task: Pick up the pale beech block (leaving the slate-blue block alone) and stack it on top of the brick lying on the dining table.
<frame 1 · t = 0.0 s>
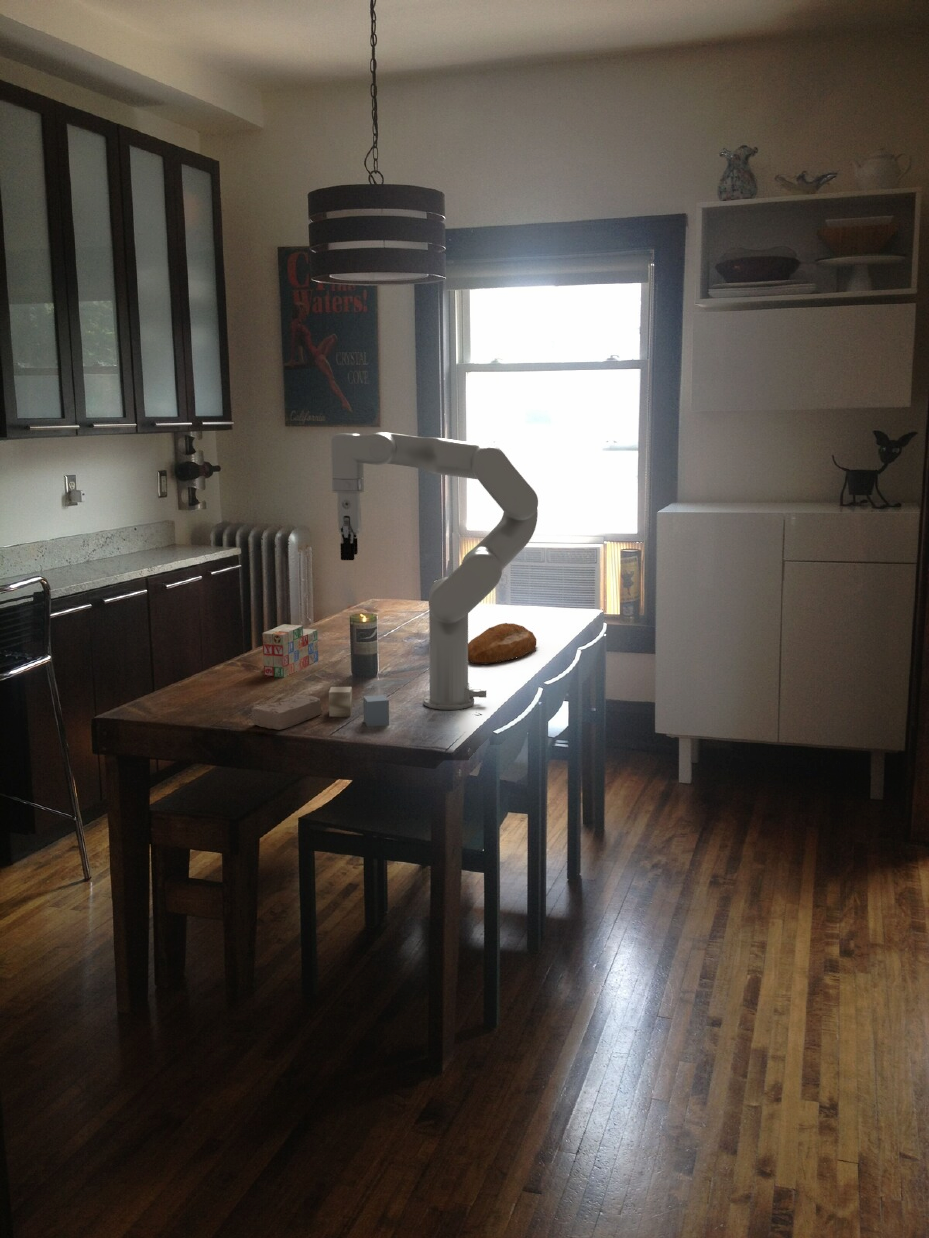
hand: (349, 557, 265), 37 cm above the table, tool pointing down, fingers open, 9 cm apart
slate block: (376, 723, 257), on the table
stack of blocks: (292, 669, 309), on the table
beech block: (340, 713, 264), on the table
bread: (500, 654, 327), on the table
brick: (288, 721, 259), on the table
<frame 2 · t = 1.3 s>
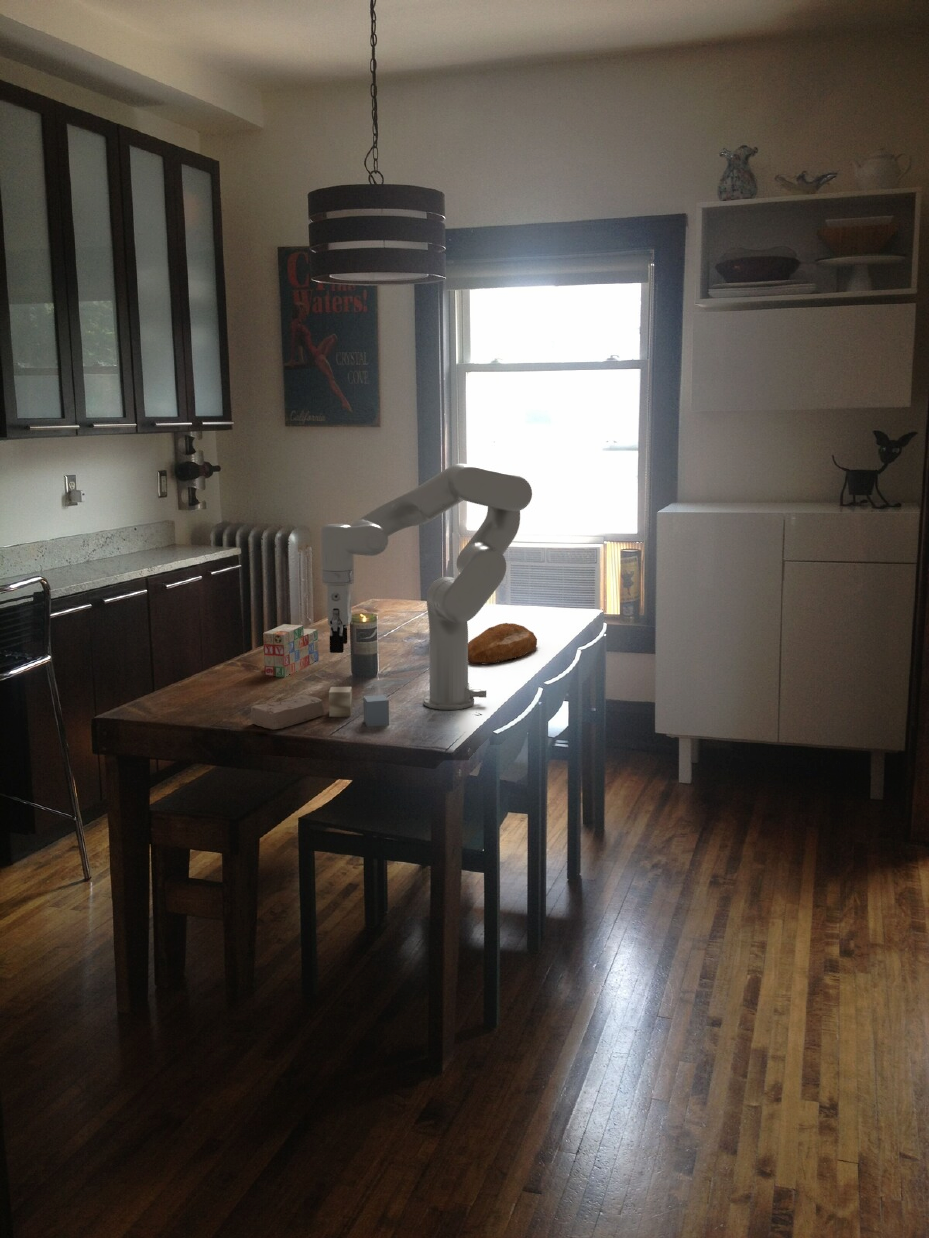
hand: (338, 648, 261), 16 cm above the table, tool pointing down, fingers open, 9 cm apart
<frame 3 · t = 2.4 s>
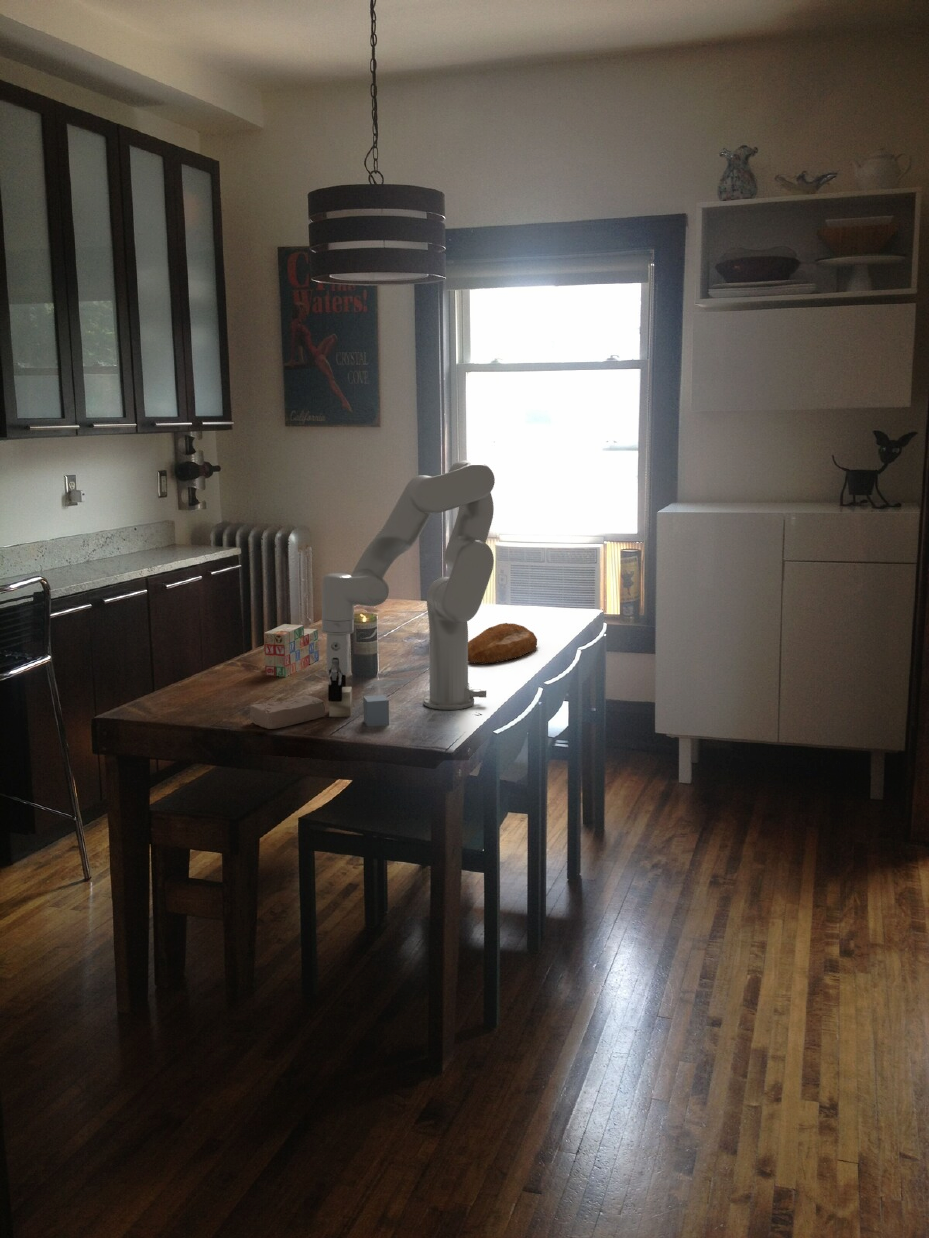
hand: (337, 695, 263), 4 cm above the table, tool pointing down, fingers open, 9 cm apart
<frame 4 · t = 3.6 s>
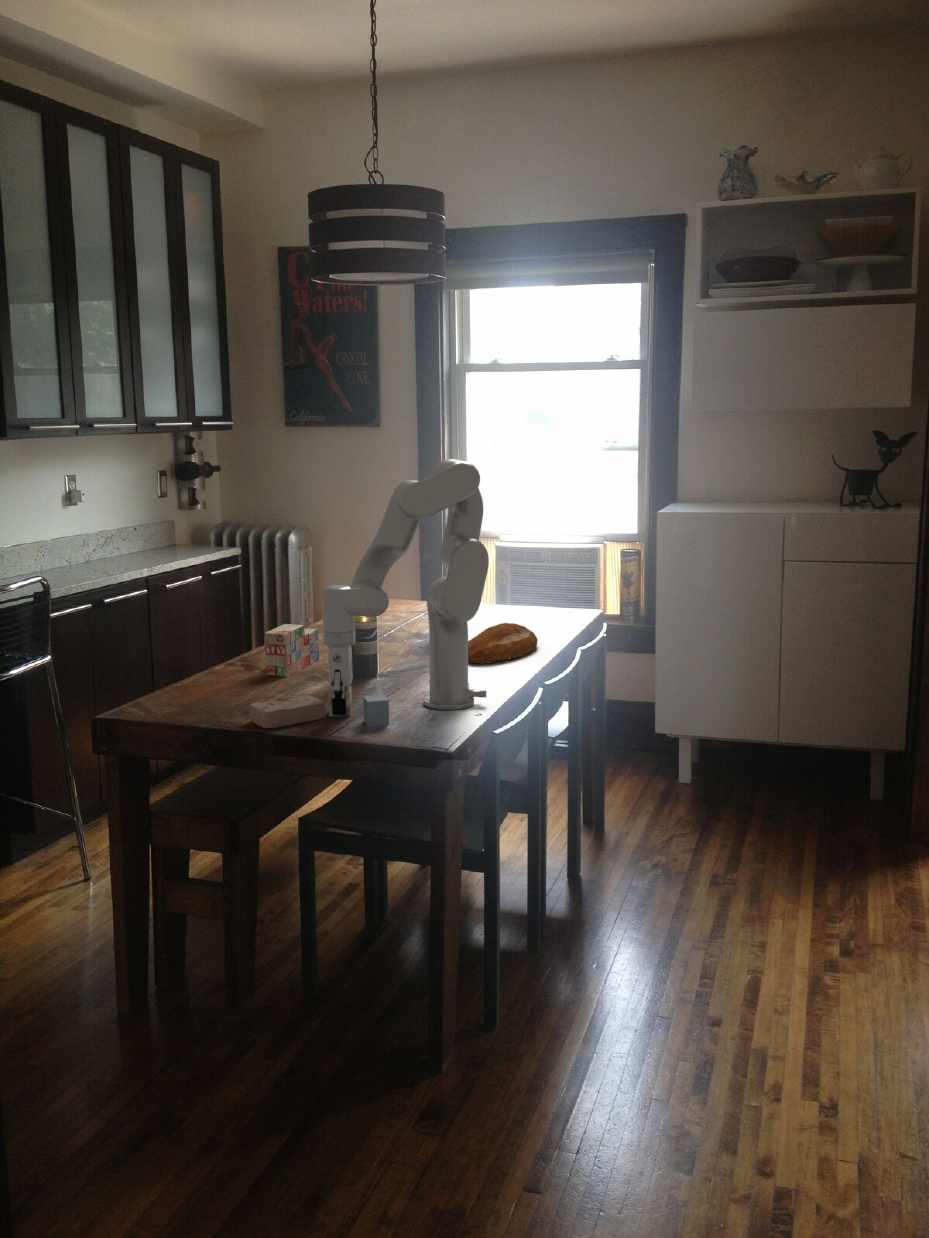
hand: (340, 710, 264), 1 cm above the table, tool pointing down, fingers closed on beech block, 5 cm apart
beech block: (340, 713, 264), on the table, touching gripper
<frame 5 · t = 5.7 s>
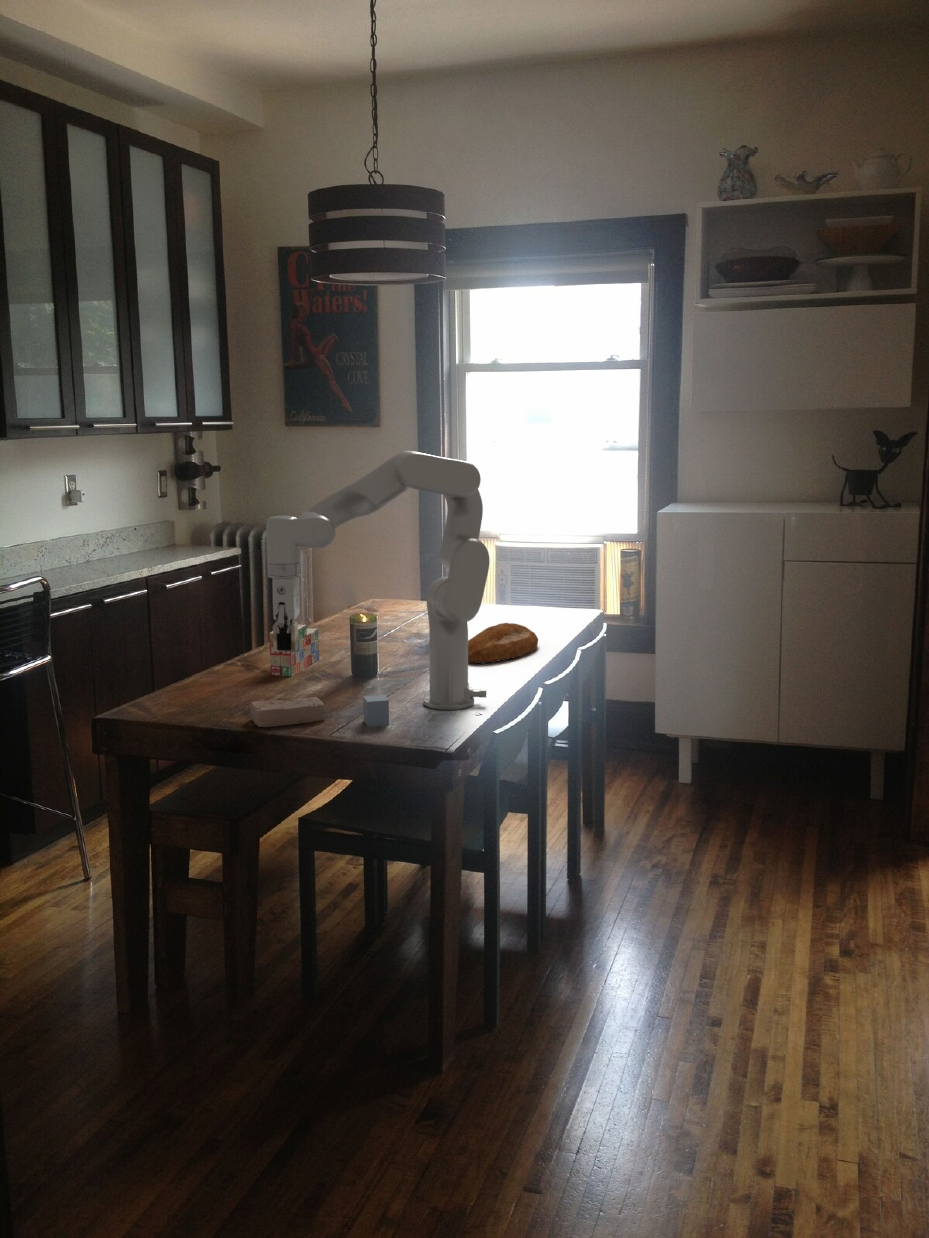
hand: (286, 646, 256), 18 cm above the table, tool pointing down, fingers closed on beech block, 5 cm apart
beech block: (285, 649, 256), point 17 cm above the table, touching gripper
when the fingers open (7 cm above the table, at t = 7.9 s): beech block drops 3 cm, point 4 cm above the table.
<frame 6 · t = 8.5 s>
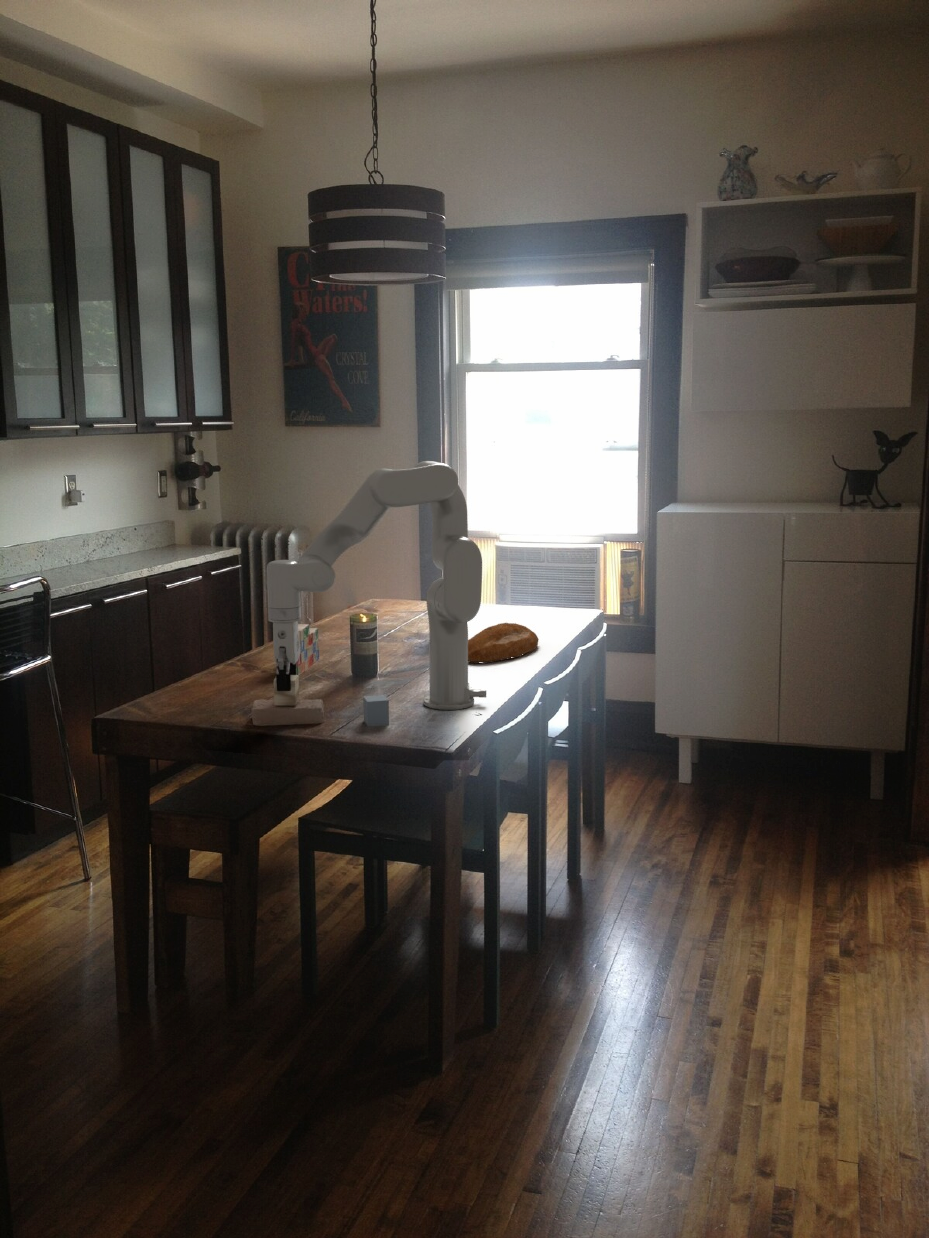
hand: (286, 685, 258), 8 cm above the table, tool pointing down, fingers open, 9 cm apart
beech block: (286, 702, 258), point 4 cm above the table
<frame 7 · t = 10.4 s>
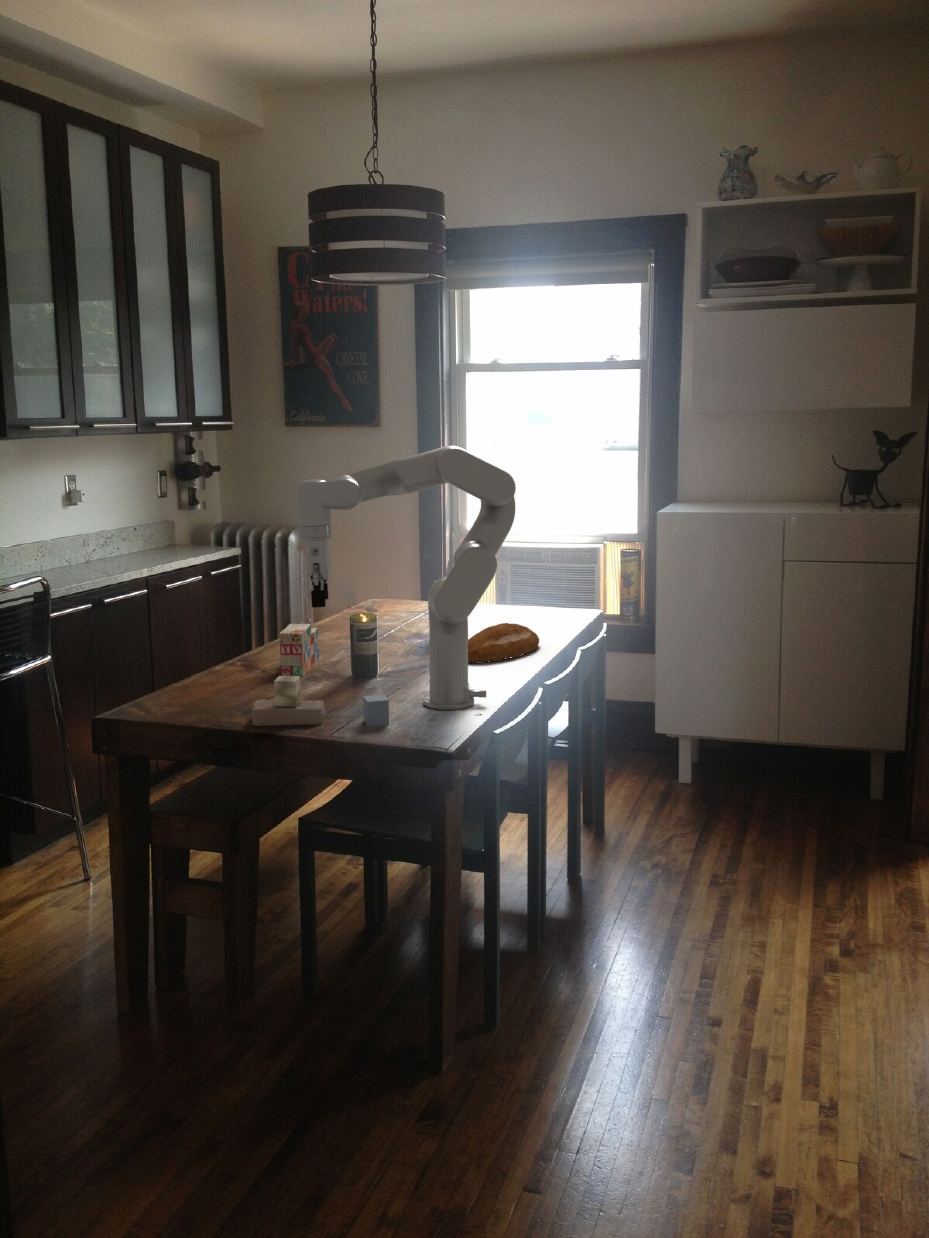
hand: (320, 603, 264), 26 cm above the table, tool pointing down, fingers open, 9 cm apart
beech block: (287, 703, 258), point 4 cm above the table, touching brick
brick: (289, 722, 259), on the table, touching beech block
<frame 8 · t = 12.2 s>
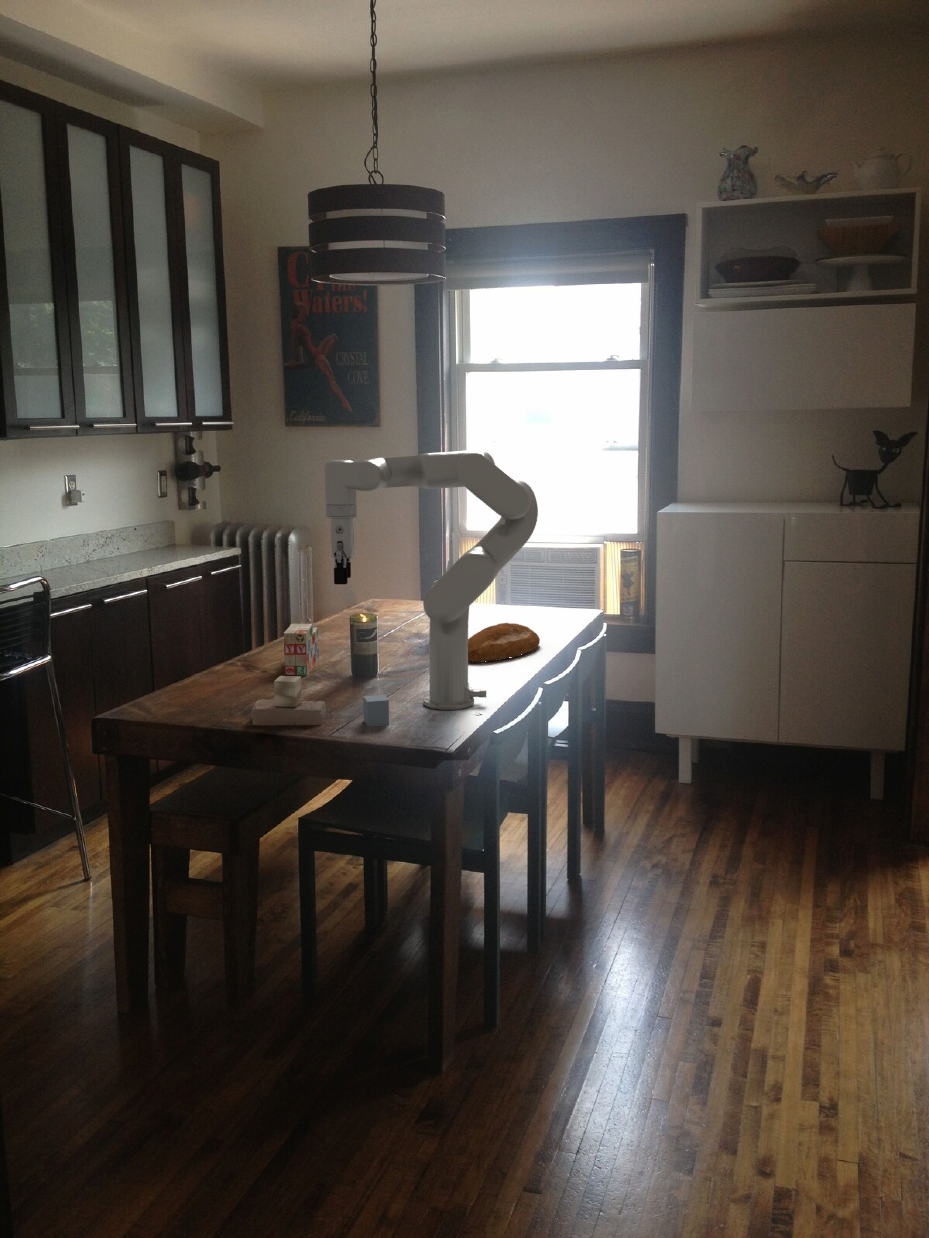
hand: (342, 580, 270), 30 cm above the table, tool pointing down, fingers open, 9 cm apart
at the end: beech block 0.2 cm from the brick (horizontally); beech block point 4.0 cm above the table; beech block tilted 0° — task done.
